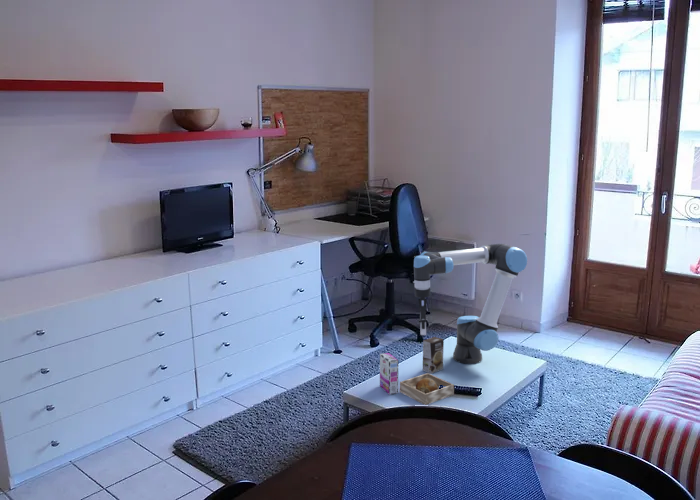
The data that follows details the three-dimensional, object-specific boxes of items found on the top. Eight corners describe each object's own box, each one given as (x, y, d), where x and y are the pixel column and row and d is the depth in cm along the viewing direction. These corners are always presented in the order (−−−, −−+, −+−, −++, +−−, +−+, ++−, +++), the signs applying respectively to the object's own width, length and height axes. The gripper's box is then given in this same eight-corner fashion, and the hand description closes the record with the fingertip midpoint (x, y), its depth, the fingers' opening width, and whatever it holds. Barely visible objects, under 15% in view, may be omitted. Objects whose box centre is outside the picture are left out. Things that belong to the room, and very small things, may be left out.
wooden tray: (427, 382, 298) (427, 372, 297) (453, 394, 284) (454, 384, 283) (399, 392, 287) (399, 382, 287) (425, 405, 273) (425, 394, 272)
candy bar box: (398, 393, 286) (399, 360, 283) (389, 395, 284) (389, 361, 281) (388, 384, 296) (388, 352, 293) (379, 386, 295) (379, 353, 291)
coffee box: (431, 374, 308) (432, 343, 305) (422, 370, 313) (422, 340, 310) (443, 369, 314) (444, 339, 311) (434, 365, 319) (434, 336, 315)
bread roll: (438, 400, 284) (444, 384, 284) (423, 396, 278) (429, 380, 278) (424, 393, 292) (430, 377, 292) (409, 389, 286) (415, 373, 286)
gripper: (414, 281, 308) (415, 321, 313) (414, 295, 284) (415, 338, 288) (429, 281, 307) (430, 321, 312) (430, 295, 283) (431, 338, 287)
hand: (423, 330), depth 300 cm, fingers open, 13 cm apart
